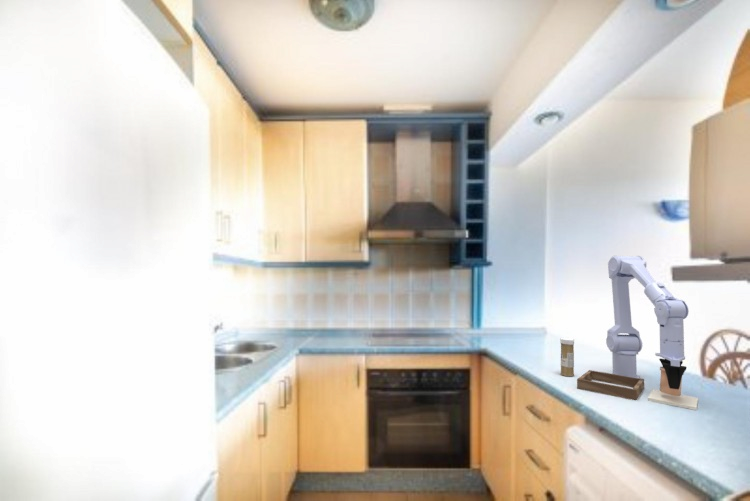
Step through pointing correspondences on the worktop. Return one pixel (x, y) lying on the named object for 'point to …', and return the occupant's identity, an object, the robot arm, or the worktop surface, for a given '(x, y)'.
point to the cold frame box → (623, 392)
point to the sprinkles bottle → (567, 356)
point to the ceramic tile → (673, 399)
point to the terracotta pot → (665, 386)
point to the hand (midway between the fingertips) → (672, 386)
